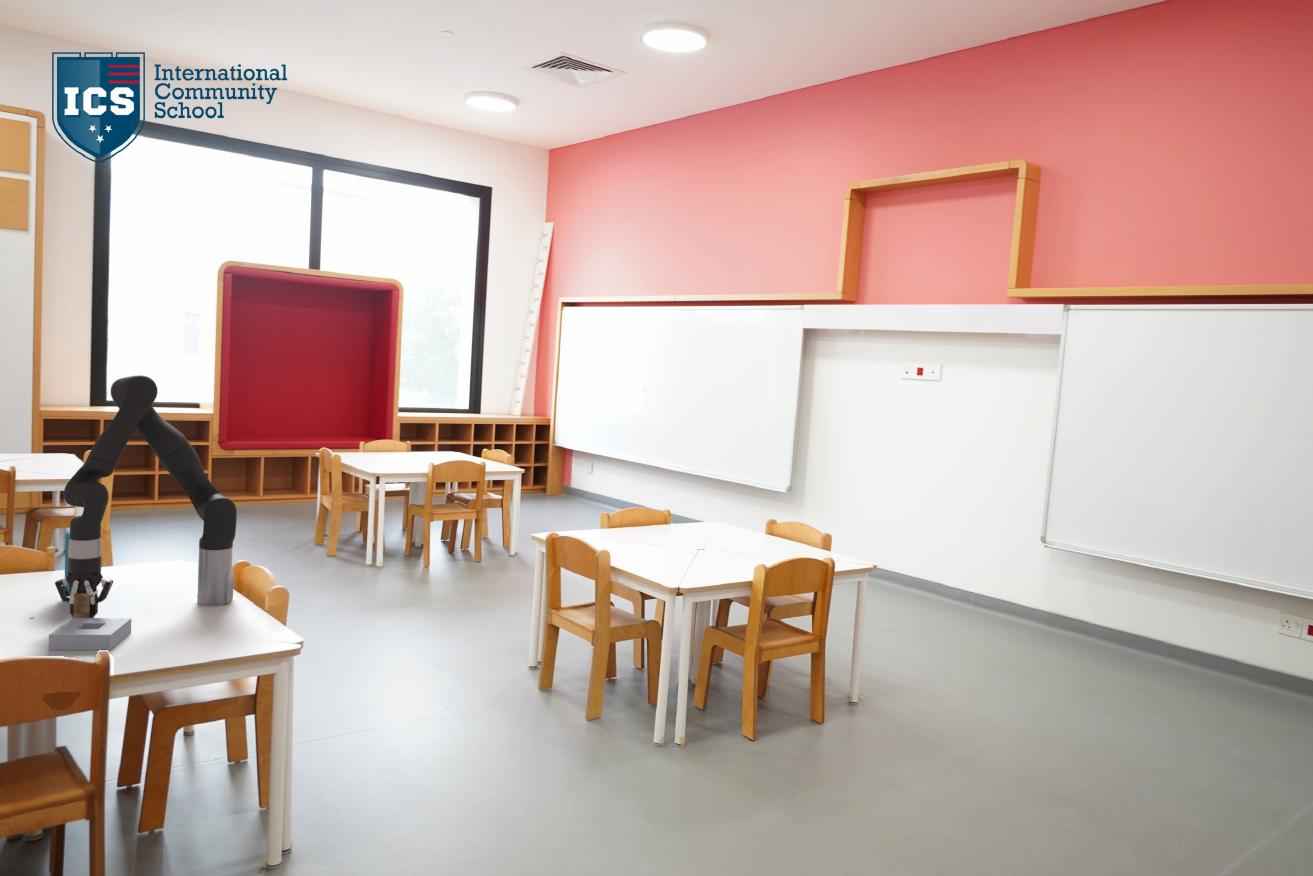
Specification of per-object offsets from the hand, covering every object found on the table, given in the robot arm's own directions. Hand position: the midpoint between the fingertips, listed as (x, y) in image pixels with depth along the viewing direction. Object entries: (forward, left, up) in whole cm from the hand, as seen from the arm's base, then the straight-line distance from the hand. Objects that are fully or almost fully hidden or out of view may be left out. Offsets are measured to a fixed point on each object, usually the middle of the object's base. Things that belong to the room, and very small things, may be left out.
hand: (83, 616), depth 235 cm
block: (+11, -26, -3) cm, 28 cm away
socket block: (-6, +11, -3) cm, 13 cm away
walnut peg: (0, 0, -3) cm, 3 cm away
